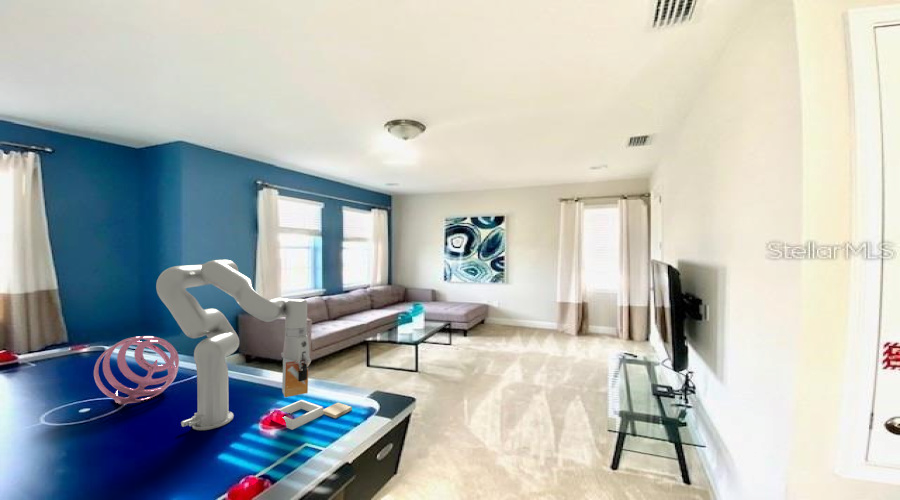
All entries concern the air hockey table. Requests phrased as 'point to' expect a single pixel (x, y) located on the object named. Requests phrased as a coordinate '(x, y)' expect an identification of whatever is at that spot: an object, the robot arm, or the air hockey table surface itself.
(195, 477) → the air hockey table surface
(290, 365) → the small box
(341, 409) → the board
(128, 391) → the spiral basket
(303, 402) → the tray
